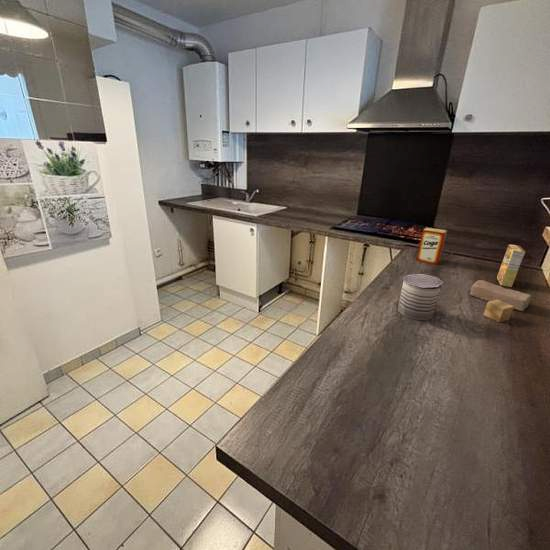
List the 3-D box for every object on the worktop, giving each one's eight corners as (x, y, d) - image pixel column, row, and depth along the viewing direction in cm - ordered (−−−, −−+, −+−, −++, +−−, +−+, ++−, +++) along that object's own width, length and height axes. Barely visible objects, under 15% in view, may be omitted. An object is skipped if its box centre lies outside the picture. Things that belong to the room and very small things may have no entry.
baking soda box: (416, 260, 145) (422, 229, 139) (419, 257, 150) (426, 226, 144) (436, 264, 140) (444, 232, 134) (439, 261, 145) (447, 229, 138)
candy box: (496, 278, 126) (507, 244, 120) (508, 279, 124) (520, 245, 118) (500, 285, 119) (512, 249, 113) (512, 287, 117) (526, 251, 111)
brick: (528, 305, 103) (533, 293, 101) (522, 312, 98) (527, 300, 96) (475, 289, 115) (478, 278, 113) (468, 295, 110) (471, 284, 108)
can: (427, 324, 90) (436, 289, 85) (391, 311, 97) (398, 278, 93) (438, 311, 98) (447, 278, 93) (404, 300, 105) (410, 269, 100)
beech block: (509, 319, 94) (514, 306, 92) (498, 322, 92) (503, 308, 90) (493, 312, 98) (498, 299, 96) (483, 315, 96) (487, 301, 94)
